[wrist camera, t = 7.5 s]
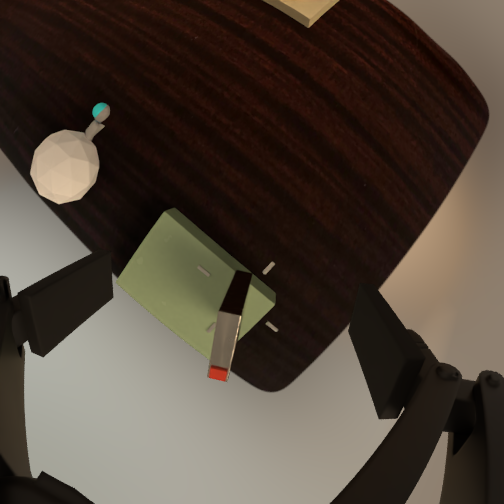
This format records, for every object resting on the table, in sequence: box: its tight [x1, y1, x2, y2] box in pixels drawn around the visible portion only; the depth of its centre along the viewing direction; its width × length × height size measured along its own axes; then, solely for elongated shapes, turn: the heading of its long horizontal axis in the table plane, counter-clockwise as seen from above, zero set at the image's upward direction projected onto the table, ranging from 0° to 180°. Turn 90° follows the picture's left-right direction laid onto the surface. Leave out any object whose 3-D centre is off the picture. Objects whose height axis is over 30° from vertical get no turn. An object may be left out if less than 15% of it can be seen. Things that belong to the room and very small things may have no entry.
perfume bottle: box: [30, 103, 110, 204], centre depth 27 cm, size 8×8×12 cm
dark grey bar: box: [207, 270, 252, 382], centre depth 25 cm, size 6×2×9 cm, turn 169°
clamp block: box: [116, 208, 278, 360], centre depth 31 cm, size 16×13×3 cm
